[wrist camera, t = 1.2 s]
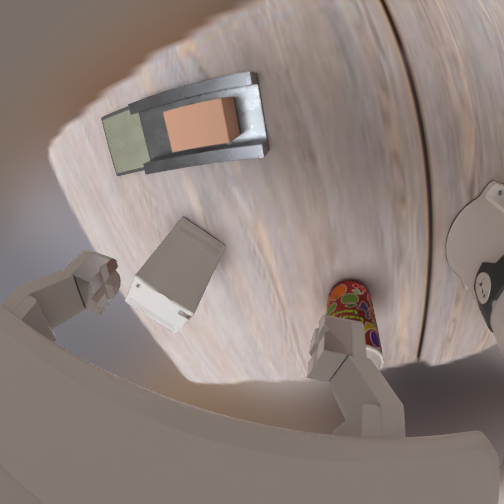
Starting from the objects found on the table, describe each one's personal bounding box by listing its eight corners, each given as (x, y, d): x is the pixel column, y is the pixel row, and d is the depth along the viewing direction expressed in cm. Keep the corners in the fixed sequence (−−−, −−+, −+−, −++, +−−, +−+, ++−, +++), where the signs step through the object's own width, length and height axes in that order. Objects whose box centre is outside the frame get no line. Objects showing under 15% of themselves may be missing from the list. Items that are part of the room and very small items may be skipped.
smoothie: (354, 263, 39) (362, 385, 23) (383, 295, 41) (398, 408, 24) (312, 291, 43) (299, 406, 27) (344, 319, 45) (341, 426, 29)
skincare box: (169, 239, 44) (120, 300, 32) (184, 213, 40) (131, 274, 28) (211, 268, 45) (174, 337, 33) (230, 245, 42) (193, 316, 30)
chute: (256, 73, 27) (249, 71, 24) (269, 150, 33) (263, 157, 30) (103, 117, 34) (88, 121, 31) (119, 175, 39) (105, 183, 36)
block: (233, 96, 29) (220, 97, 25) (240, 135, 31) (229, 142, 28) (180, 107, 30) (163, 111, 27) (188, 143, 33) (172, 152, 29)
